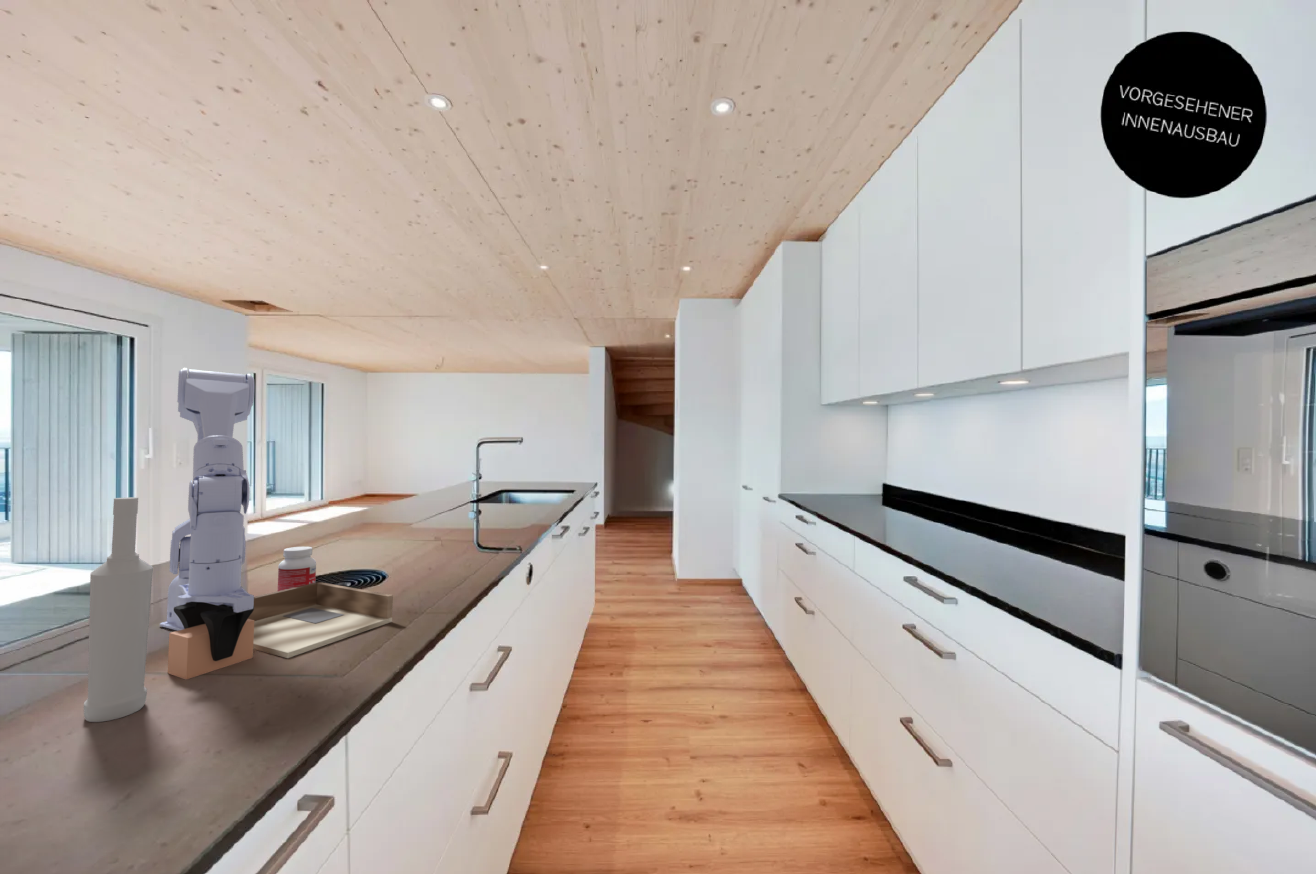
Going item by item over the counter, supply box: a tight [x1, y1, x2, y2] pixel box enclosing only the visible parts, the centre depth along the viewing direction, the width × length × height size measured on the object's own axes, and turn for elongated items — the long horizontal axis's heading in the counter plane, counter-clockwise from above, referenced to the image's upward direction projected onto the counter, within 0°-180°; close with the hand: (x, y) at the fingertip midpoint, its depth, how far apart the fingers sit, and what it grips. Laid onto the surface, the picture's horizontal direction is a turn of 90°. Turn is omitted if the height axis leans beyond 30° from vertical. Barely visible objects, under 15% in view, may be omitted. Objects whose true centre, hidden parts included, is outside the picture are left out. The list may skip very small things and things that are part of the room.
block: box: [167, 619, 254, 680], centre depth 73 cm, size 8×4×6 cm, turn 158°
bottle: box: [83, 496, 154, 723], centre depth 60 cm, size 5×5×25 cm
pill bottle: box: [276, 546, 317, 592], centre depth 101 cm, size 6×6×11 cm
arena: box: [248, 581, 394, 659], centre depth 88 cm, size 20×18×5 cm
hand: (212, 655), depth 73 cm, fingers closed on block, 4 cm apart
